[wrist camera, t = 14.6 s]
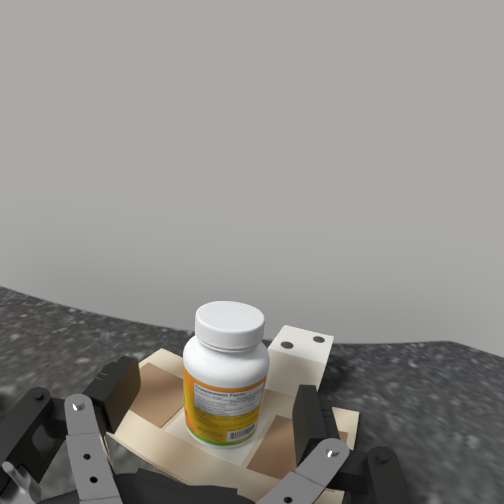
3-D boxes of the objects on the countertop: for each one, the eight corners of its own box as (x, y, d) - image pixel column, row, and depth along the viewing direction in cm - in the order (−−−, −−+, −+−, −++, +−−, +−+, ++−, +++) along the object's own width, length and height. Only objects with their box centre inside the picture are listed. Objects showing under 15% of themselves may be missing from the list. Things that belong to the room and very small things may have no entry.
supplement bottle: (199, 395, 21) (203, 290, 19) (262, 410, 20) (282, 305, 18) (173, 437, 16) (166, 323, 14) (248, 458, 15) (270, 347, 13)
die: (322, 376, 26) (334, 335, 25) (312, 406, 21) (326, 362, 20) (277, 364, 28) (285, 323, 27) (260, 391, 23) (267, 347, 22)
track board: (356, 416, 20) (359, 411, 20) (331, 530, 9) (335, 527, 9) (161, 352, 27) (161, 347, 27) (77, 408, 16) (74, 402, 16)
